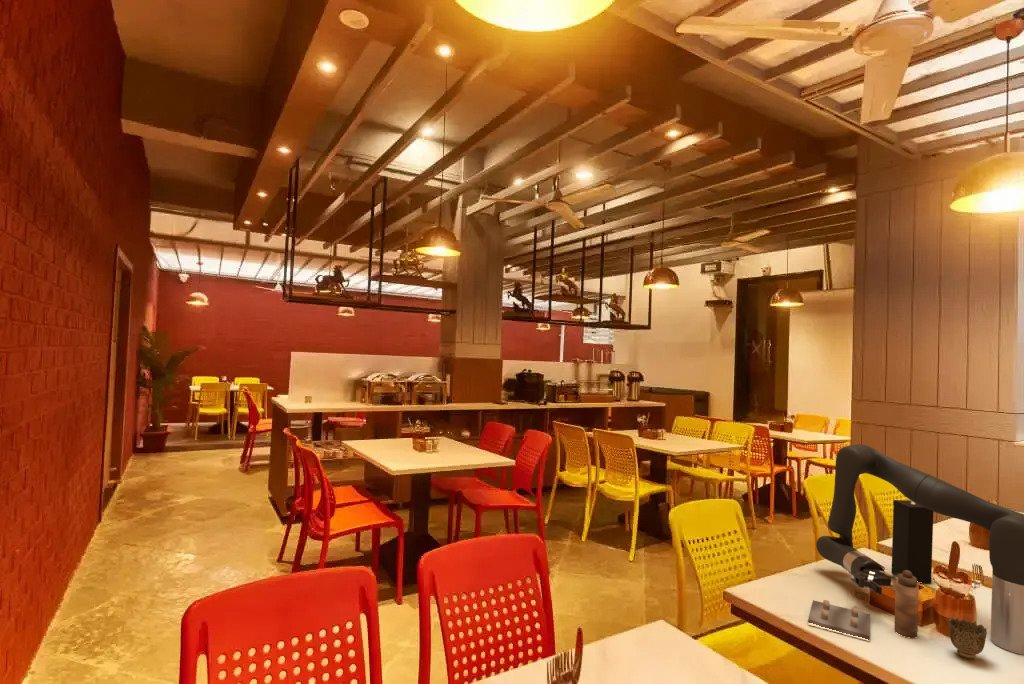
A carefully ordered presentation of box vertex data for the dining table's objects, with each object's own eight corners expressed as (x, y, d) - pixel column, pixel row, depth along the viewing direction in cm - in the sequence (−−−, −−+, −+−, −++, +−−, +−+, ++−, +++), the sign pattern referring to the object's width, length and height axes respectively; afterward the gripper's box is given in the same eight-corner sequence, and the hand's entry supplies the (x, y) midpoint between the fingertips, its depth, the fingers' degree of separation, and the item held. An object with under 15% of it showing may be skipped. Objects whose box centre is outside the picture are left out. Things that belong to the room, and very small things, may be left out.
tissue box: (931, 584, 179) (934, 497, 179) (906, 583, 179) (909, 496, 179) (914, 574, 187) (917, 490, 187) (890, 573, 187) (893, 490, 187)
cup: (947, 645, 142) (948, 614, 142) (985, 656, 138) (986, 624, 138) (946, 657, 136) (947, 625, 136) (986, 669, 132) (987, 635, 132)
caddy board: (869, 619, 155) (870, 606, 155) (869, 641, 143) (869, 628, 143) (812, 605, 162) (813, 593, 162) (807, 625, 151) (808, 612, 151)
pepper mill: (916, 632, 148) (918, 569, 148) (917, 640, 144) (919, 575, 144) (894, 626, 151) (895, 564, 151) (894, 634, 147) (896, 571, 147)
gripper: (838, 554, 169) (870, 576, 152) (887, 556, 168) (924, 579, 152) (838, 579, 169) (869, 604, 152) (887, 581, 168) (923, 607, 152)
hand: (896, 592), depth 152 cm, fingers open, 8 cm apart
